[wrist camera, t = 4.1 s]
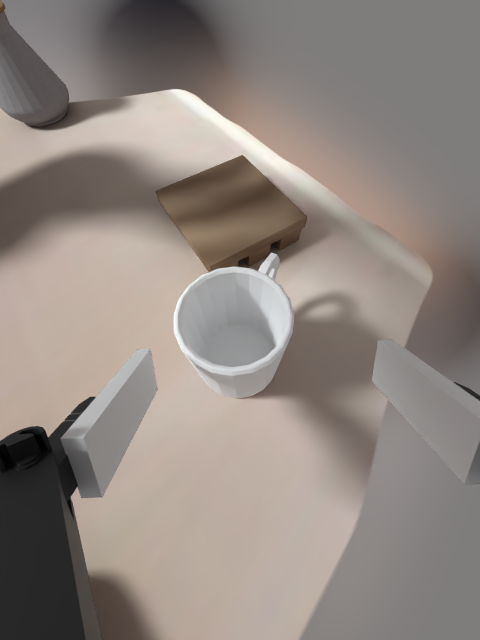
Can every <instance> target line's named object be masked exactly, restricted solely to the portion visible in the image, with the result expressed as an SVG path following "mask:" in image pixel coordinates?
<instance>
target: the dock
mask: <svg viewBox="0 0 480 640" xmlns="http://www.w3.org/2000/svg"><path fill="white" fill-rule="evenodd" d="M155 192H156V194H157V197H158V200H159V202H160V203H161V205H162V206H163V208H164V209H165V210H166V212H167V213H168V215H169V216H170V218H171V219H172V220H173V222H174V223H175V225H176V226H177V227H178V229H179V230H180V232H181V233H182V235H183V236H184V237H185V239H186V240H187V242H188V243H189V244H190V246H191V247H192V249H193V250H194V252H195V253H196V254H197V256H198V257H199V259H200V260H201V261H202V263H203V264H204V266H205V267H206V268H207V270H208V271H209V272H211V271H214V270H216V269H220V268H227V267H234V266H235V267H238V261H240V260H241V259H244V261H245V262H246V263H247V264H248V266H251V265H253V264H254V263H256V262H258V261H260V260H262V259H264V258H266V257H268V256H269V255H270V247H271V244H272V243H273V244H274V245H275V246H276V247H277V249H278V250H281V249H283V248H285V247H287V246H288V245H290V244H292V243H294V242H296V241H298V239H299V236H300V232H301V228H303V227H305V224H306V220H307V216H306V215H305V214H304V213H303V212H302V211H301V210H300V209H299V208H298V207H297V206H296V205H294V204H293V203H292V202H291V201H290V200H289V199H288V198H287V197H286V196H285V195H284V194H283V193H282V192H281V191H280V190H279V189H278V188H277V187H276V186H275V185H273V184H272V183H271V182H270V181H269V180H268V179H267V178H266V177H265V176H264V175H263V174H262V173H261V172H260V171H259V170H258V169H257V168H256V167H255V166H254V165H253V164H251V163H250V162H249V161H248V160H247V159H246V158H245V157H244V156H243V155H241V156H239V157H236V158H234V159H232V160H229V161H227V162H224V163H222V164H220V165H217V166H215V167H212V168H210V169H208V170H205V171H203V172H200V173H198V174H196V175H193V176H191V177H188V178H186V179H183V180H181V181H179V182H176V183H174V184H171V185H169V186H167V187H164V188H162V189H159V190H157V191H155Z"/></svg>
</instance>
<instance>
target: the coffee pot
mask: <svg viewBox="0 0 480 640" xmlns="http://www.w3.org/2000/svg"><path fill="white" fill-rule="evenodd" d="M4 10H5V6H4V4H3V2H1V1H0V108H1V109H2V110H3V111H4V112H6V113H7V114H8V115H9V116H11V117H12V118H15V119H17V120H19V121H21V122H25V123H26V124H28V125H30V126H45V125H49V124H52V123H55V122H57V121H59V120H60V119H62V118H63V117H64V116H65V114H66V112H67V109H66V108H67V107H68V102H69V94H68V89H67V88H66V85H65V84H64V83H63V82H62V81H61V80H60V79H59V77H58V76H57V75H56V74H55V73H54V72H53V71H52V70H51V69H50V68H49V67H48V65H47V64H46V63H45V62H44V61H43V60H42V59H41V58H40V57H39V56H38V55H37V53H35V51H34V50H33V49H32V48H31V47H30V46H29V45H28V44H27V43H26V42H25V40H24V39H23V38H22V37H21V36H20V35H19V34H18V33H17V32H16V31H15V30H14V29H13V27H12V26H11V25H10V24H9V21H8V19H7V16H6V14H5V11H4Z"/></svg>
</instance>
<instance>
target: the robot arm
mask: <svg viewBox="0 0 480 640" xmlns="http://www.w3.org/2000/svg"><path fill="white" fill-rule="evenodd" d="M372 382H373V383H374V384H375V385H376V386H377V388H378V389H379V390H380V391H381V392H382V393H383V394H384V395H385V397H386V398H387V399H388V400H389V401H390V402H391V403H392V404H393V405H394V407H395V408H396V409H397V410H398V411H399V412H400V413H401V414H402V415H403V417H404V418H405V419H406V420H407V421H408V422H409V423H410V424H411V425H412V427H413V428H414V429H415V430H416V431H417V432H418V433H419V435H420V436H421V437H422V438H423V439H424V440H425V441H426V442H427V444H428V445H429V446H430V447H431V448H432V449H433V450H434V451H435V452H436V453H437V455H438V456H439V457H440V458H441V459H442V460H443V461H444V462H445V464H446V465H447V466H448V467H449V468H450V469H451V470H452V471H453V473H454V474H455V475H456V476H457V477H458V478H459V479H460V480H461V482H462V483H463V484H480V396H479V395H478V394H476V393H475V392H473V391H472V390H470V389H469V388H467V387H464V386H462V385H460V384H458V383H456V382H452V381H450V380H449V379H447V378H446V377H445V376H443V375H442V374H440V373H439V372H438V371H436V370H435V369H433V368H432V367H430V366H429V365H427V364H426V363H425V362H423V361H422V360H420V359H419V358H417V357H416V356H415V355H413V354H412V353H410V352H409V351H408V350H406V349H405V348H403V347H402V346H400V345H399V344H398V343H396V342H395V341H393V340H392V339H385V340H378V344H377V350H376V356H375V363H374V369H373V376H372ZM157 390H158V388H157V383H156V377H155V371H154V366H153V360H152V354H151V349H137V350H136V352H135V353H134V354H133V355H132V356H131V357H130V359H129V360H128V361H127V362H126V363H125V364H124V365H123V367H122V368H121V369H120V370H119V371H118V372H117V374H116V375H115V376H114V377H113V378H112V379H111V381H110V382H109V383H108V384H107V385H106V386H105V388H104V389H103V390H102V391H101V392H100V393H99V394H98V396H97V397H89V398H88V399H86V400H85V401H83V402H82V403H80V404H79V405H78V406H77V407H76V408H75V409H74V410H73V411H72V412H71V414H70V415H69V416H68V417H67V418H66V419H65V421H64V422H62V423H61V424H60V425H59V427H58V428H57V429H56V430H55V431H54V432H53V433H52V434H51V435H50V436H49V437H47V434H46V431H45V430H44V428H43V427H39V426H34V427H28V428H25V429H21V430H19V431H17V432H14V433H12V434H10V435H9V436H7V437H6V438H4V439H3V440H1V441H0V640H102V637H101V632H100V628H99V623H98V618H97V614H96V609H95V604H94V600H93V595H92V591H91V586H90V581H89V577H88V572H87V568H86V563H85V558H84V554H83V549H82V545H81V540H80V535H79V531H78V526H77V521H76V517H75V512H74V508H73V503H72V501H71V498H70V497H71V496H72V494H73V492H74V491H75V489H76V488H77V487H78V490H79V493H80V495H81V498H94V497H103V495H104V493H105V491H106V489H107V487H108V485H109V483H110V481H111V479H112V477H113V475H114V473H115V471H116V470H117V468H118V466H119V464H120V462H121V460H122V458H123V456H124V454H125V452H126V450H127V448H128V446H129V444H130V442H131V440H132V438H133V436H134V435H135V433H136V431H137V429H138V427H139V425H140V423H141V421H142V419H143V417H144V415H145V413H146V411H147V409H148V407H149V405H150V403H151V401H152V400H153V398H154V396H155V394H156V392H157Z"/></svg>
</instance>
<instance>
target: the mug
mask: <svg viewBox="0 0 480 640" xmlns="http://www.w3.org/2000/svg"><path fill="white" fill-rule="evenodd" d="M279 262H280V259H279V257H278V255H277V254H274V253H271V254H270V255H269V256H268V257H267V258H266V260H265V261H264V262H263V263H262V265H261V266H260V268H259V270H258V271H256V270H254V269H251V268H243V267H235V266H234V267H227V268H220V269H216V270H214V271H211V272H209V273H206V274H204V275H202V276H200V277H199V278H198V279H196V280H195V281H194V282H193V283H191V284H190V285H189V286H188V287H187V288H186V290H185V291H184V293H183V294H182V295H181V297H180V298H179V300H178V303H177V306H176V309H175V313H174V334H175V336H176V338H177V341H178V343H179V346H180V348H181V350H182V351H183V353H184V354H185V355H186V357H187V358H188V360H189V361H190V362H191V364H192V365H193V366H194V368H195V369H196V370H197V372H198V373H199V375H200V376H201V377H202V379H203V380H204V381H205V382H206V383H207V384H208V386H209V387H210V388H211V389H212V390H213V391H215V392H217V393H219V394H221V395H223V396H225V397H231V398H237V399H238V398H245V397H251V396H253V395H255V394H257V393H258V392H260V391H262V390H263V389H264V388H265V387H266V386H267V385H268V384H269V383H270V382H271V381H272V379H273V377H274V375H275V373H276V370H277V368H278V366H279V364H280V361H281V359H282V357H283V354H284V352H285V350H286V347H287V345H288V343H289V340H290V338H291V336H292V334H293V325H294V312H293V309H292V305H291V301H290V298H289V297H288V296H287V294H286V293H285V291H284V290H283V288H282V287H281V285H280V284H278V283H277V282H276V281H274V280H275V277H276V274H277V271H278V268H279Z"/></svg>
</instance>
